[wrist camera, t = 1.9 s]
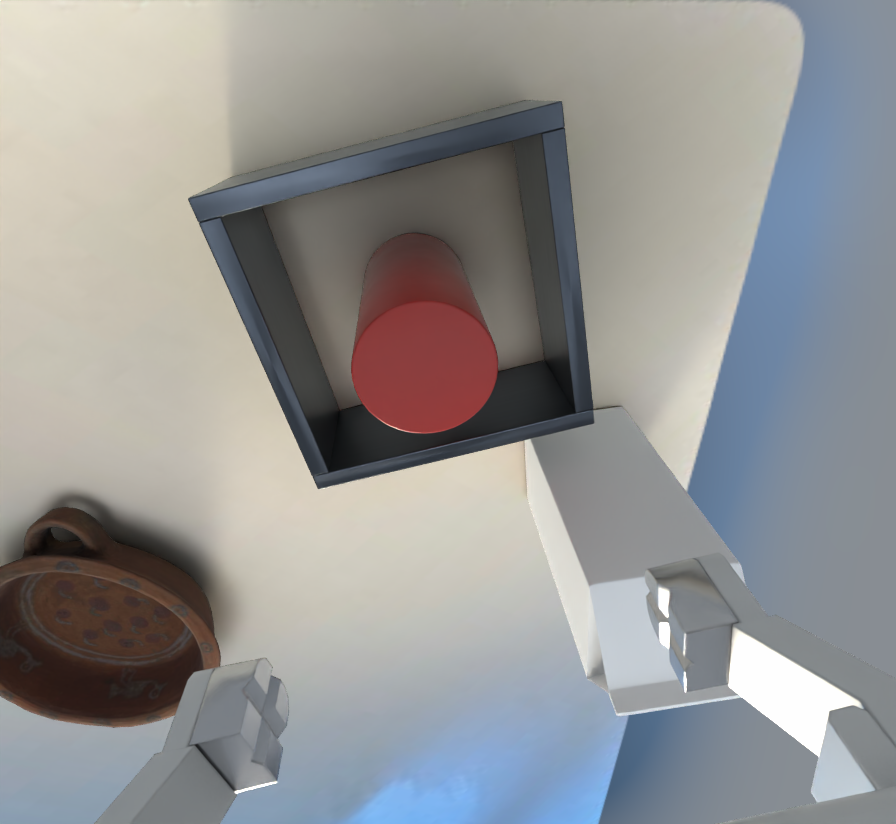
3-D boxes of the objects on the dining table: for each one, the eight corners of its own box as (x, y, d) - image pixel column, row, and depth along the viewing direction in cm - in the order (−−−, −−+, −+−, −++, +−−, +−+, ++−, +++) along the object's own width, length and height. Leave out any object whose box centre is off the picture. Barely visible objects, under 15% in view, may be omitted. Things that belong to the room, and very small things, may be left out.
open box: (230, 177, 29) (187, 198, 23) (525, 99, 28) (562, 100, 22) (330, 425, 37) (318, 490, 31) (561, 369, 36) (595, 424, 30)
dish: (206, 486, 38) (182, 535, 34) (256, 680, 49) (242, 735, 45) (-60, 497, 37) (-120, 549, 33) (52, 694, 48) (19, 753, 44)
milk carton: (522, 419, 38) (620, 663, 22) (622, 404, 38) (796, 636, 22) (526, 498, 41) (613, 759, 25) (618, 484, 42) (764, 735, 25)
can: (350, 247, 31) (330, 322, 21) (452, 221, 31) (483, 283, 20) (380, 341, 34) (375, 448, 24) (473, 318, 34) (509, 415, 24)
